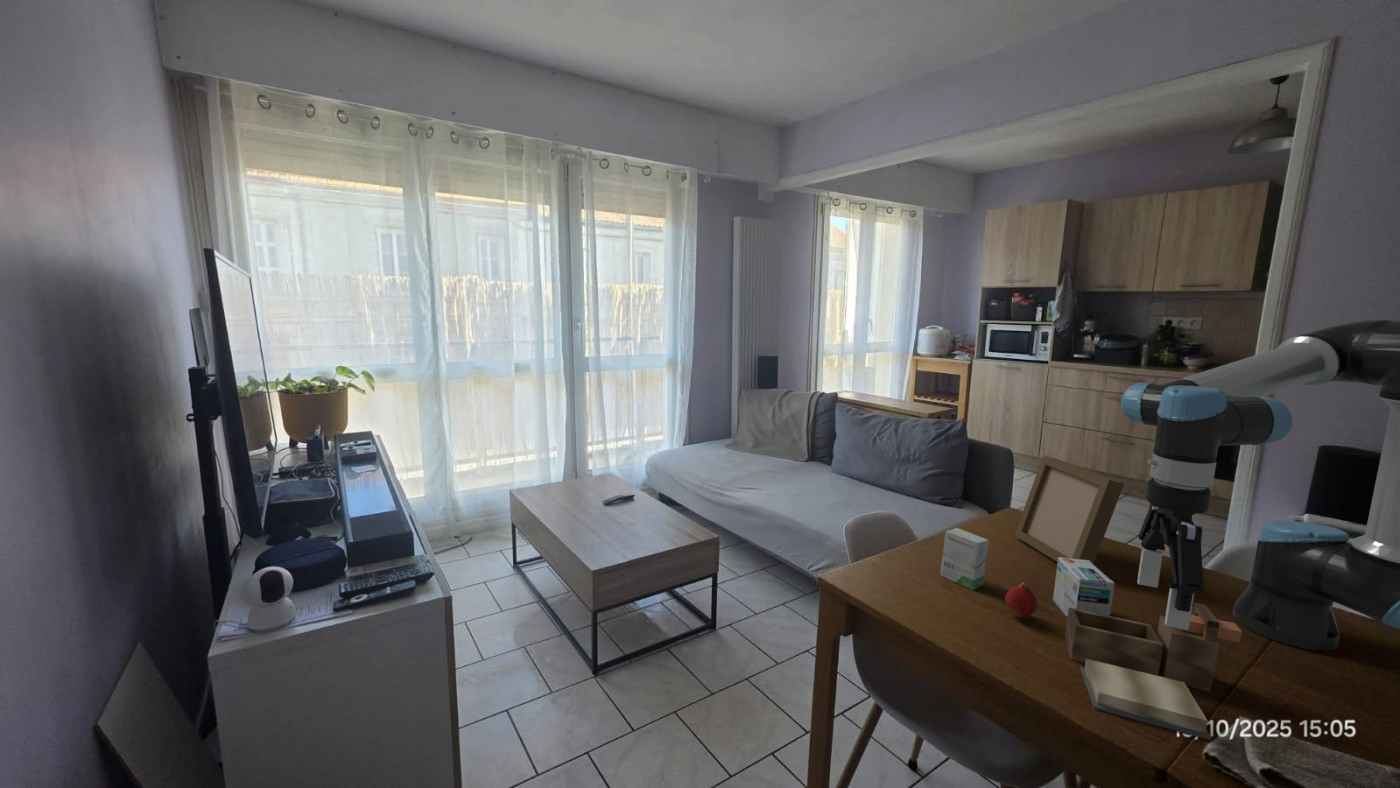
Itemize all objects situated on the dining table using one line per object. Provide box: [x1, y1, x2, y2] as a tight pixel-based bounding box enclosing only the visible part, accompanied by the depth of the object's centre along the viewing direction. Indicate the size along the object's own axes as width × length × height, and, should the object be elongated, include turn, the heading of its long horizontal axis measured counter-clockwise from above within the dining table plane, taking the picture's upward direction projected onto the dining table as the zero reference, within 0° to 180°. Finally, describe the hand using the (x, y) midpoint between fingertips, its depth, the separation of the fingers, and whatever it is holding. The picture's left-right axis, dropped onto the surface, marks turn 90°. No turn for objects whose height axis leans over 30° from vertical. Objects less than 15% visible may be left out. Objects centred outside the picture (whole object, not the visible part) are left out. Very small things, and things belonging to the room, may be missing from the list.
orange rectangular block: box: [1180, 614, 1243, 643], centre depth 95 cm, size 8×3×2 cm, turn 65°
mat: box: [1080, 666, 1213, 741], centre depth 91 cm, size 15×11×1 cm
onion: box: [1004, 582, 1038, 619], centre depth 115 cm, size 6×6×8 cm
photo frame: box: [1014, 455, 1125, 565], centre depth 143 cm, size 15×22×25 cm
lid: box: [1084, 659, 1209, 733], centre depth 91 cm, size 14×10×2 cm
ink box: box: [940, 527, 990, 591], centre depth 130 cm, size 9×5×12 cm, turn 34°
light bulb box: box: [1052, 557, 1115, 618], centre depth 116 cm, size 11×7×11 cm, turn 168°
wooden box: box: [1064, 602, 1221, 692], centre depth 100 cm, size 20×7×13 cm, turn 65°
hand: (1160, 604), depth 89 cm, fingers open, 13 cm apart
